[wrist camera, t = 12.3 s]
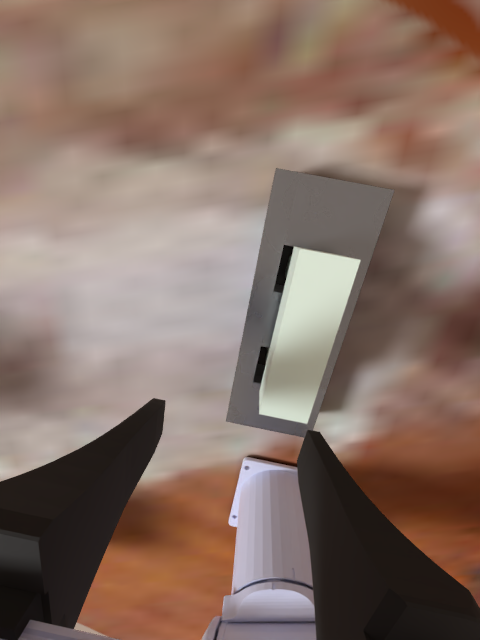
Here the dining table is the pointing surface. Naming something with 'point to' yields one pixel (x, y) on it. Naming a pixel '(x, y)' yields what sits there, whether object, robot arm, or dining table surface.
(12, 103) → the dining table surface
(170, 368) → the dining table surface
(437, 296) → the dining table surface
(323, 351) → the notched cream block
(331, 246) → the grey block with holes
